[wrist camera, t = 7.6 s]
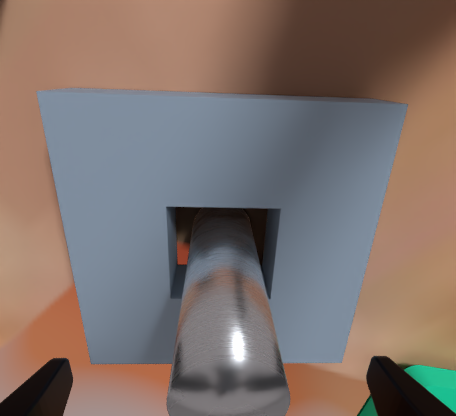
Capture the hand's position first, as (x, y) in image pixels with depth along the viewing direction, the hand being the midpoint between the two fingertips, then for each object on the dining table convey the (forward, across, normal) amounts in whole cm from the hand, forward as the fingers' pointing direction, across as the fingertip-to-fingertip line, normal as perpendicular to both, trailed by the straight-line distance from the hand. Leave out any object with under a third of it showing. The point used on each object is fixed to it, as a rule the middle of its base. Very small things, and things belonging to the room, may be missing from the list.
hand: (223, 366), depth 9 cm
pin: (+9, 0, 0) cm, 9 cm away
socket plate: (+9, 0, 0) cm, 9 cm away
